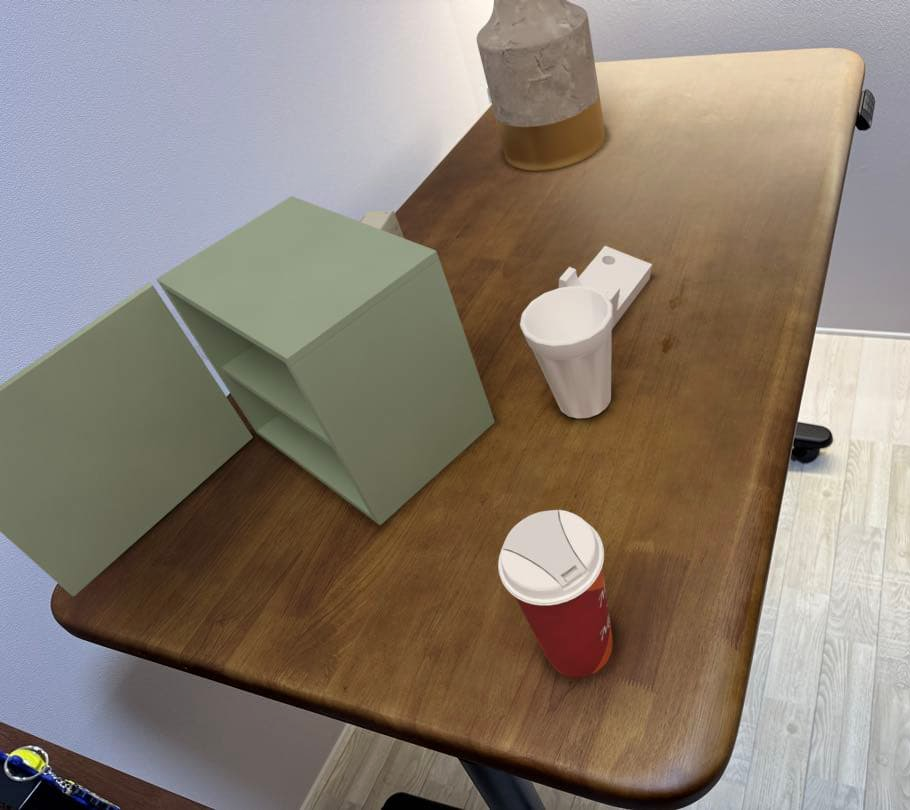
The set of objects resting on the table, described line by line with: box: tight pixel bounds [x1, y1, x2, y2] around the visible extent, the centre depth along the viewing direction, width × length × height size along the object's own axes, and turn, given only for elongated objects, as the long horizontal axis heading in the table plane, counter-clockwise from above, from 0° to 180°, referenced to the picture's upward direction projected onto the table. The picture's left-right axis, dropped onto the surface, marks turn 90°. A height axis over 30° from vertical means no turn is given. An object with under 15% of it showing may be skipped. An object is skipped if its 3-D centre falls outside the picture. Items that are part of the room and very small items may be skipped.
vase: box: [476, 0, 607, 172], centre depth 130 cm, size 18×18×30 cm
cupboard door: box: [0, 283, 254, 598], centre depth 85 cm, size 7×26×24 cm, turn 145°
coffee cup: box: [497, 509, 613, 678], centre depth 64 cm, size 8×8×15 cm
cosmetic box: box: [359, 209, 405, 239], centre depth 111 cm, size 6×4×12 cm
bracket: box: [558, 245, 653, 330], centre depth 101 cm, size 13×7×8 cm, turn 149°
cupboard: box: [156, 195, 496, 526], centre depth 87 cm, size 18×26×24 cm
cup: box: [519, 286, 613, 419], centre depth 86 cm, size 10×10×13 cm
